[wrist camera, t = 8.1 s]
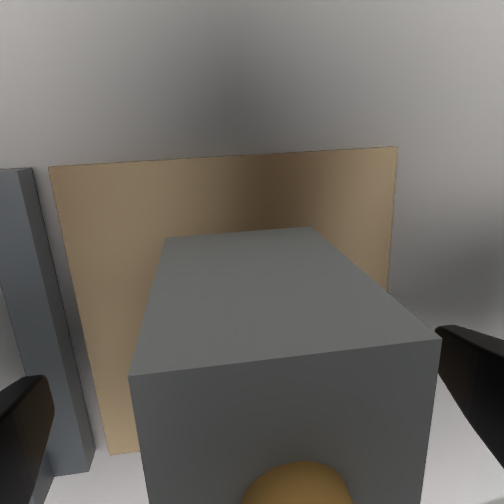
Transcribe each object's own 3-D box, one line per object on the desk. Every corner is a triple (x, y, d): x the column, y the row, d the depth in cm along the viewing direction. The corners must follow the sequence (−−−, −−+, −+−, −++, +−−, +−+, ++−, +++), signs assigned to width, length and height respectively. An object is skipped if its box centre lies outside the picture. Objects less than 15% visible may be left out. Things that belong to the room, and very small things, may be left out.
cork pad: (392, 146, 11) (397, 147, 10) (374, 409, 13) (377, 415, 13) (51, 166, 9) (47, 167, 9) (111, 447, 12) (109, 455, 12)
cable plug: (310, 226, 11) (500, 388, 4) (309, 376, 12) (444, 670, 6) (165, 237, 10) (108, 442, 4) (183, 392, 12) (169, 735, 5)
